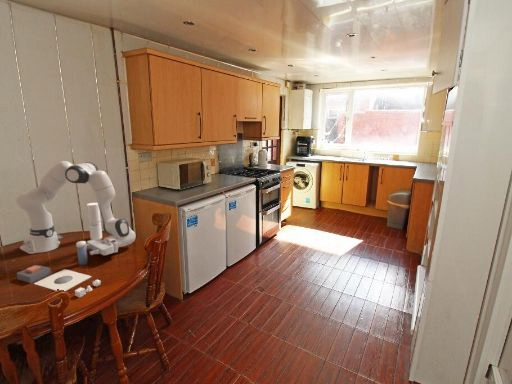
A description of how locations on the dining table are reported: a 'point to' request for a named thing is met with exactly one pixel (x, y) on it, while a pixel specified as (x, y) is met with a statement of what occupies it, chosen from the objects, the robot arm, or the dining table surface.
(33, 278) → the button housing
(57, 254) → the dining table surface
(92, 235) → the cylindrical container
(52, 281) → the paper sheet
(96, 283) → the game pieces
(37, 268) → the button
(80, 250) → the blue and white cylinder
